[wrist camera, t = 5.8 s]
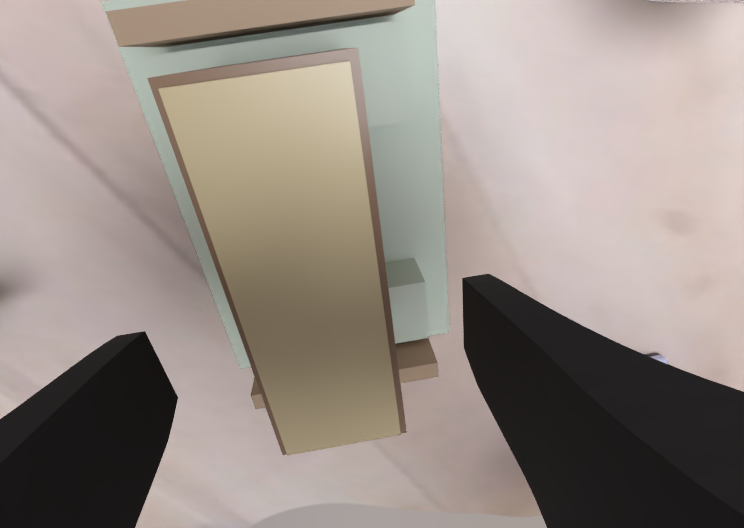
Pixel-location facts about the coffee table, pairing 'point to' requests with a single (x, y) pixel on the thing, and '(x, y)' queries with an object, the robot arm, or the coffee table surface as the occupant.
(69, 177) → the coffee table surface
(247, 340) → the tan rectangular box
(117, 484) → the robot arm
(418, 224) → the display cradle
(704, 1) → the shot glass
